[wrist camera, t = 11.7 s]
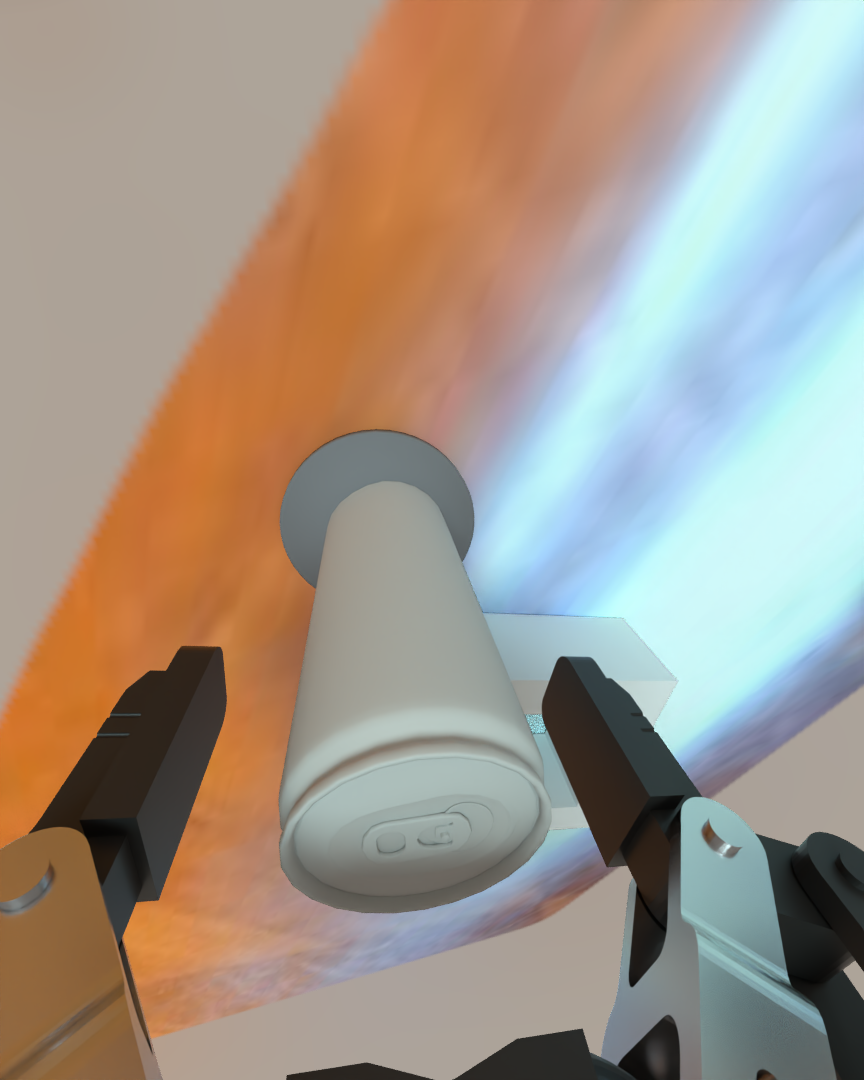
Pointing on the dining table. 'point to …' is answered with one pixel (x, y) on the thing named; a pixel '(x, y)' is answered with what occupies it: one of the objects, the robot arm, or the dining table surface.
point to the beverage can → (404, 723)
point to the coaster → (357, 466)
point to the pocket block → (608, 641)
